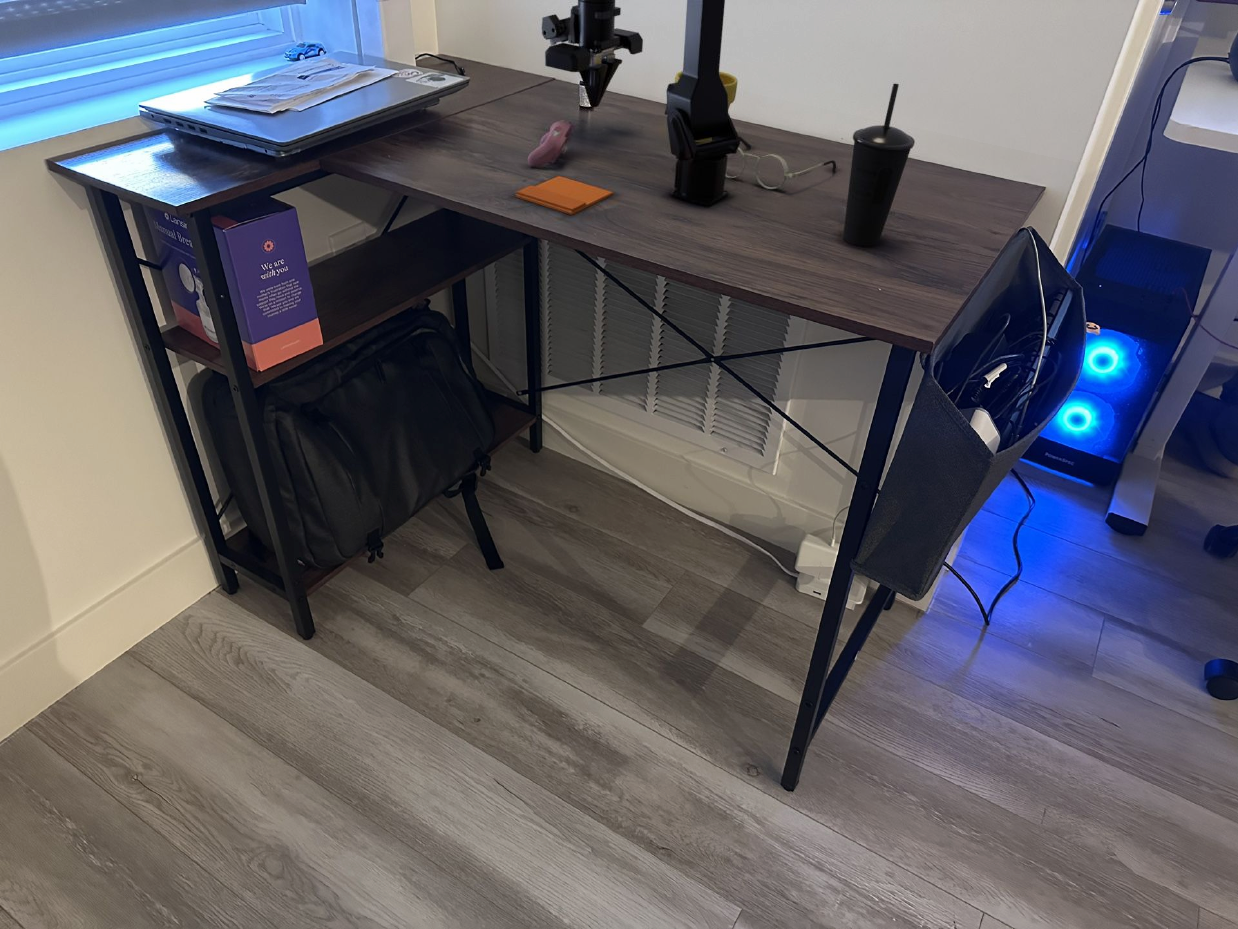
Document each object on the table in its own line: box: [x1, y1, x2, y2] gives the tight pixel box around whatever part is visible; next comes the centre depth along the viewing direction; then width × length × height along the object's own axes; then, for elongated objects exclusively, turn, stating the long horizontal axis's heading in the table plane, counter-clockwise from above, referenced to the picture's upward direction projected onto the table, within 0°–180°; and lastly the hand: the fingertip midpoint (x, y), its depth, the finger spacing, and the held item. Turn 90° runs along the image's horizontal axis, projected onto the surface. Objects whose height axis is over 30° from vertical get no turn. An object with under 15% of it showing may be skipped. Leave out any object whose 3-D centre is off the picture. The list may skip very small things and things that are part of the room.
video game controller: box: [527, 118, 575, 168], centre depth 137 cm, size 10×5×7 cm, turn 171°
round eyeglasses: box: [725, 136, 837, 190], centre depth 137 cm, size 17×15×5 cm
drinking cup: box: [842, 83, 916, 248], centre depth 113 cm, size 8×8×20 cm
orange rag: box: [515, 175, 614, 216], centre depth 127 cm, size 10×10×1 cm
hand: (594, 106), depth 143 cm, fingers closed
